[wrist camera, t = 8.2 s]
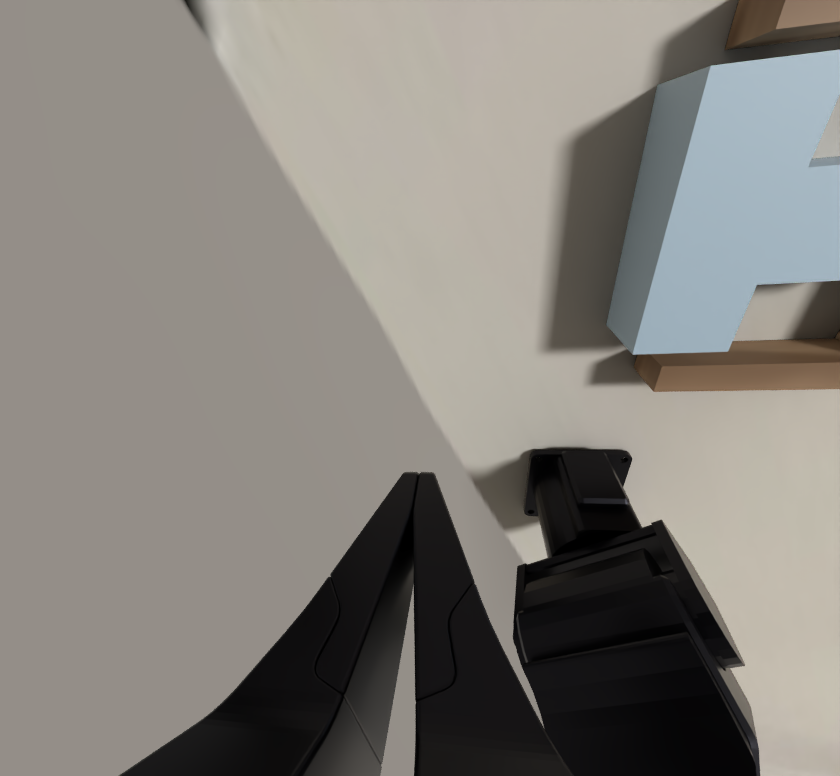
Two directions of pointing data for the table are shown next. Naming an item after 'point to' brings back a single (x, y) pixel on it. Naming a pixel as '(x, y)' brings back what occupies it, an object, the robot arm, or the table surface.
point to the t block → (728, 201)
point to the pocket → (769, 359)
